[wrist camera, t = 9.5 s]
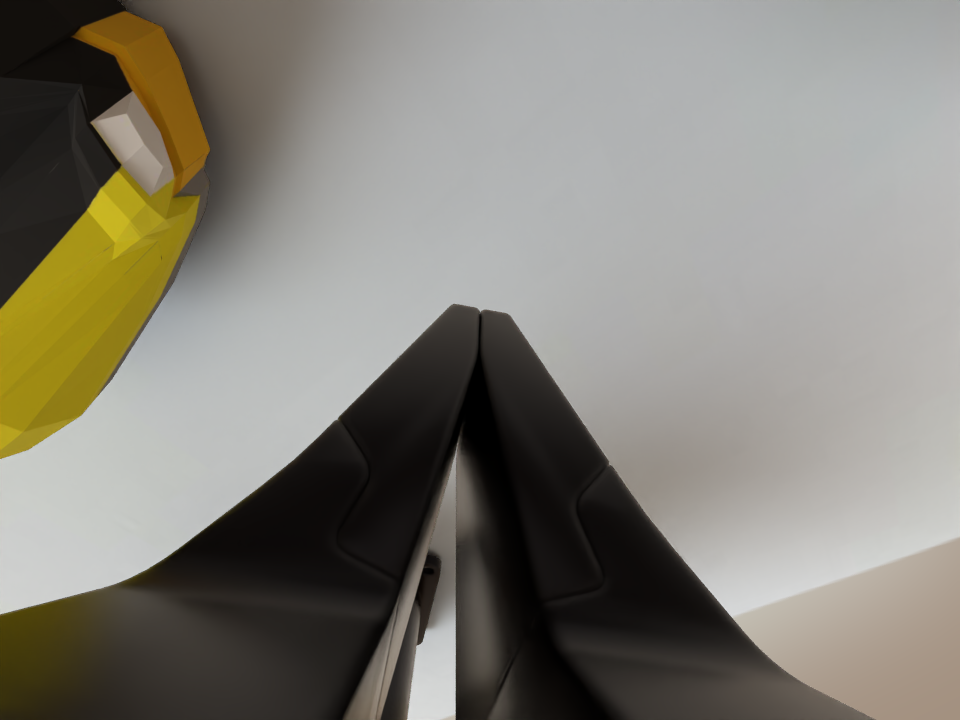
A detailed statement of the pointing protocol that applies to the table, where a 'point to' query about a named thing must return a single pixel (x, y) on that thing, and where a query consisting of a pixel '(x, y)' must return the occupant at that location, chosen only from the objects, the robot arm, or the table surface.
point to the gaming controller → (86, 201)
